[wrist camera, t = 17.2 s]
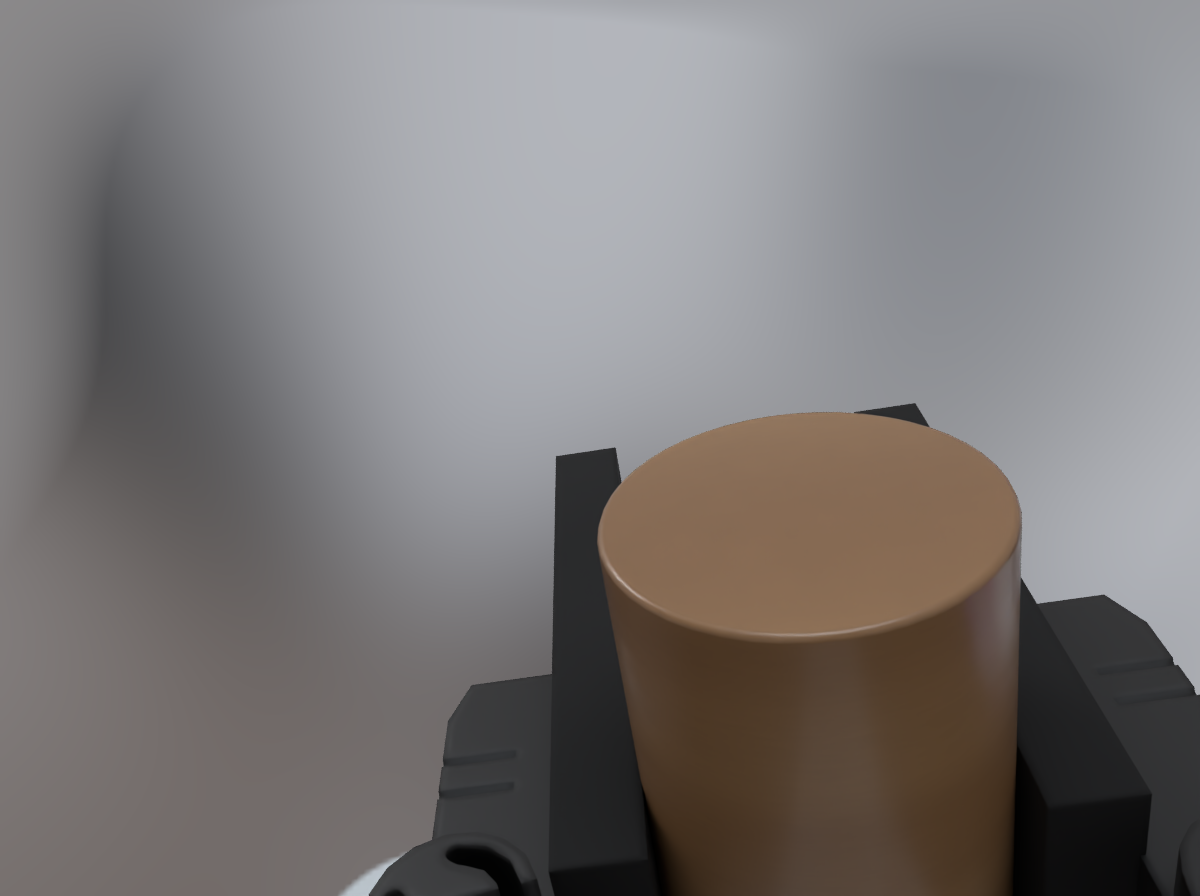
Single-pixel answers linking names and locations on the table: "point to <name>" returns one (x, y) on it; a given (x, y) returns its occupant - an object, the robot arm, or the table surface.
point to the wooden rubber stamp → (821, 657)
